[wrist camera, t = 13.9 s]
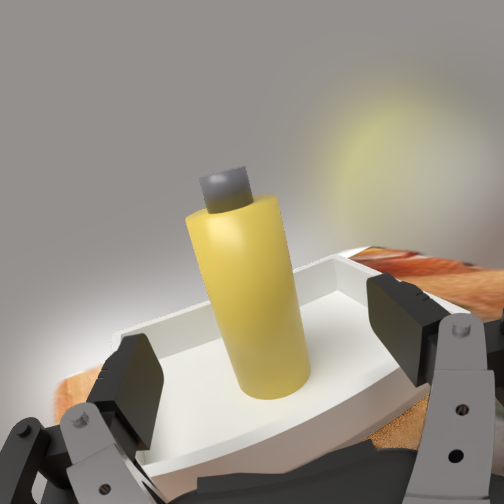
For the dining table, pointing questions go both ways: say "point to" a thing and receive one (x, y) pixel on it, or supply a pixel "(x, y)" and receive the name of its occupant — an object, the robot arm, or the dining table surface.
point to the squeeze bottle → (250, 284)
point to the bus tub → (278, 410)
